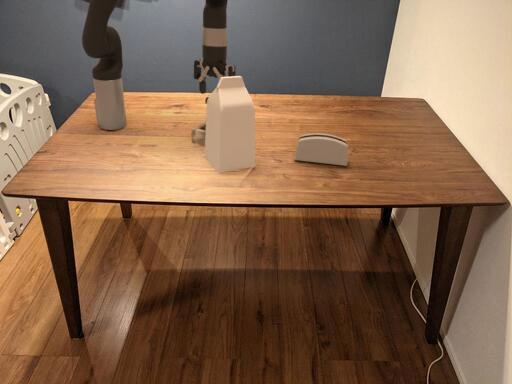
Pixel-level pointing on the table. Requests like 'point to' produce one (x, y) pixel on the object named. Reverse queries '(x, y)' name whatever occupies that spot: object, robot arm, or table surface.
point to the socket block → (199, 134)
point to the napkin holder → (322, 149)
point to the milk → (230, 126)
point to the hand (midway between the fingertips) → (214, 95)
